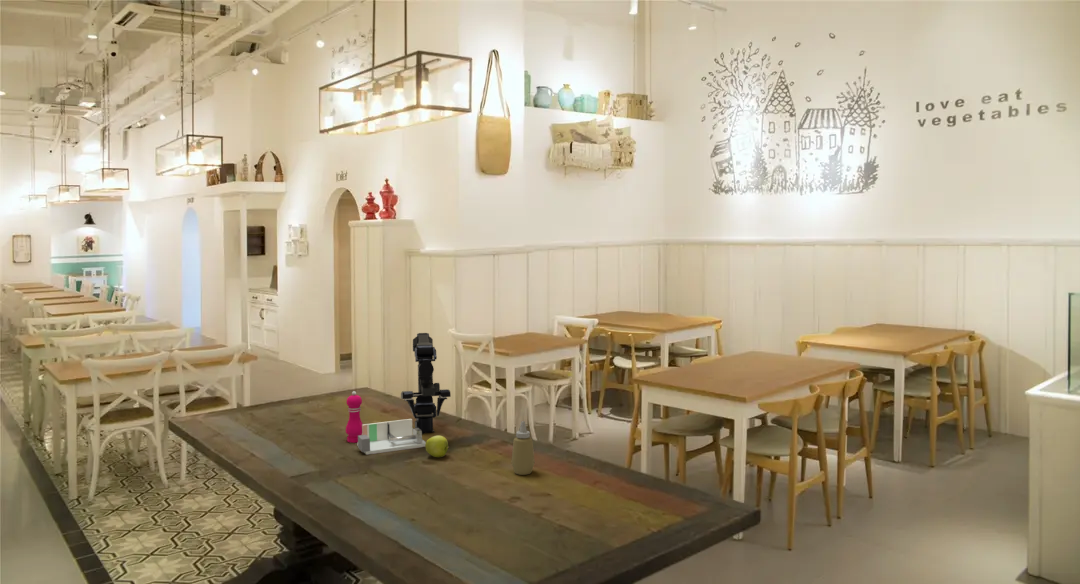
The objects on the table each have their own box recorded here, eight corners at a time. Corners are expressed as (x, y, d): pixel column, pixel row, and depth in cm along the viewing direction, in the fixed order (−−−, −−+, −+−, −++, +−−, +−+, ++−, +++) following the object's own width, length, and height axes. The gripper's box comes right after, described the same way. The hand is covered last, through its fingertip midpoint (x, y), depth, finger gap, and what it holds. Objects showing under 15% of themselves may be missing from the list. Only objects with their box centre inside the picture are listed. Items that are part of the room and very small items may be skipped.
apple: (446, 460, 282) (446, 439, 281) (422, 459, 284) (422, 438, 283) (453, 454, 289) (452, 433, 289) (429, 453, 291) (429, 432, 291)
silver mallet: (412, 435, 310) (412, 421, 309) (422, 442, 300) (421, 427, 299) (383, 439, 304) (383, 424, 304) (391, 446, 294) (391, 431, 294)
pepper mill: (366, 438, 312) (365, 389, 310) (360, 443, 305) (359, 393, 303) (349, 437, 312) (348, 389, 311) (343, 442, 305) (342, 393, 304)
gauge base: (416, 437, 312) (416, 418, 312) (427, 446, 300) (427, 425, 300) (353, 446, 301) (353, 425, 300) (362, 455, 289) (361, 433, 288)
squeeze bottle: (537, 470, 271) (537, 419, 269) (530, 477, 263) (530, 425, 262) (516, 468, 273) (516, 418, 272) (508, 475, 266) (507, 423, 264)
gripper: (404, 377, 293) (405, 419, 291) (452, 375, 298) (453, 416, 297) (400, 377, 303) (401, 417, 302) (447, 375, 309) (448, 414, 308)
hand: (426, 416), depth 302 cm, fingers open, 9 cm apart
